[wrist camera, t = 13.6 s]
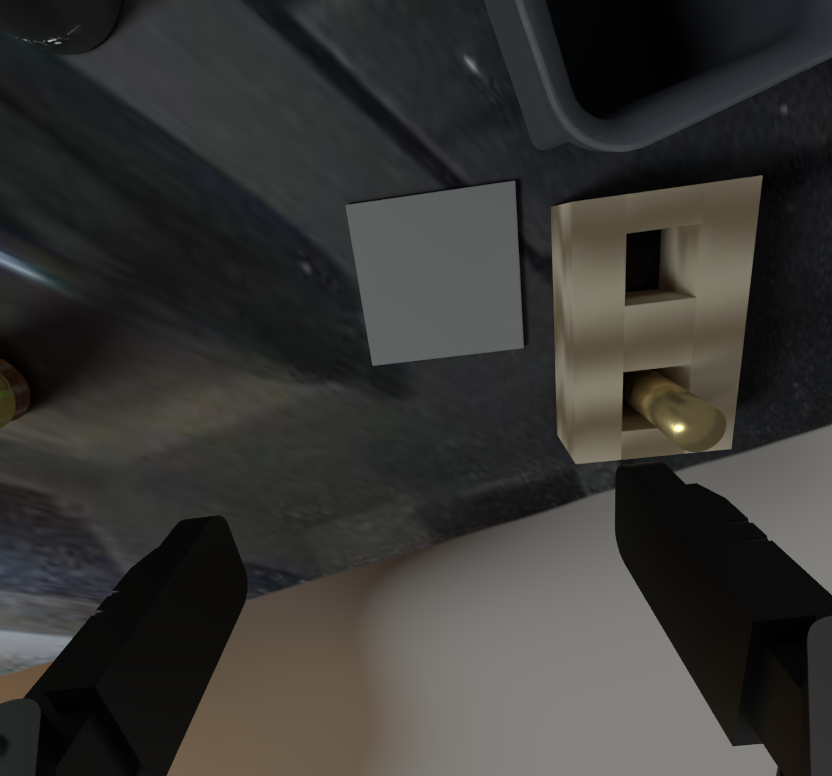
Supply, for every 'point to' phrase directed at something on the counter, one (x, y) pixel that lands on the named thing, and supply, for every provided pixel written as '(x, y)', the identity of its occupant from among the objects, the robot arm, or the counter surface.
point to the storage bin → (648, 62)
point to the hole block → (649, 310)
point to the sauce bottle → (12, 393)
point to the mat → (439, 273)
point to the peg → (674, 410)
